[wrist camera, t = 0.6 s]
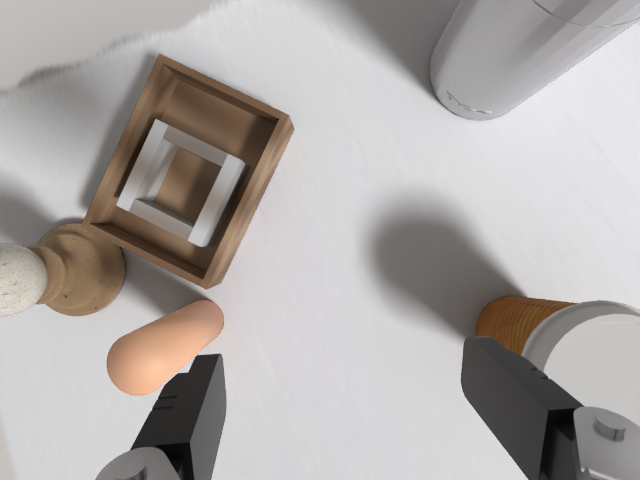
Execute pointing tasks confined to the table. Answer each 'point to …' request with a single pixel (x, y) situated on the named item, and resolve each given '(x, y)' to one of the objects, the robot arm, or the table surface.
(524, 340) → the disposable coffee cup
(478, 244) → the table surface
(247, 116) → the box
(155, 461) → the robot arm
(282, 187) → the table surface
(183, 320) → the peg
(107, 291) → the candle holder
